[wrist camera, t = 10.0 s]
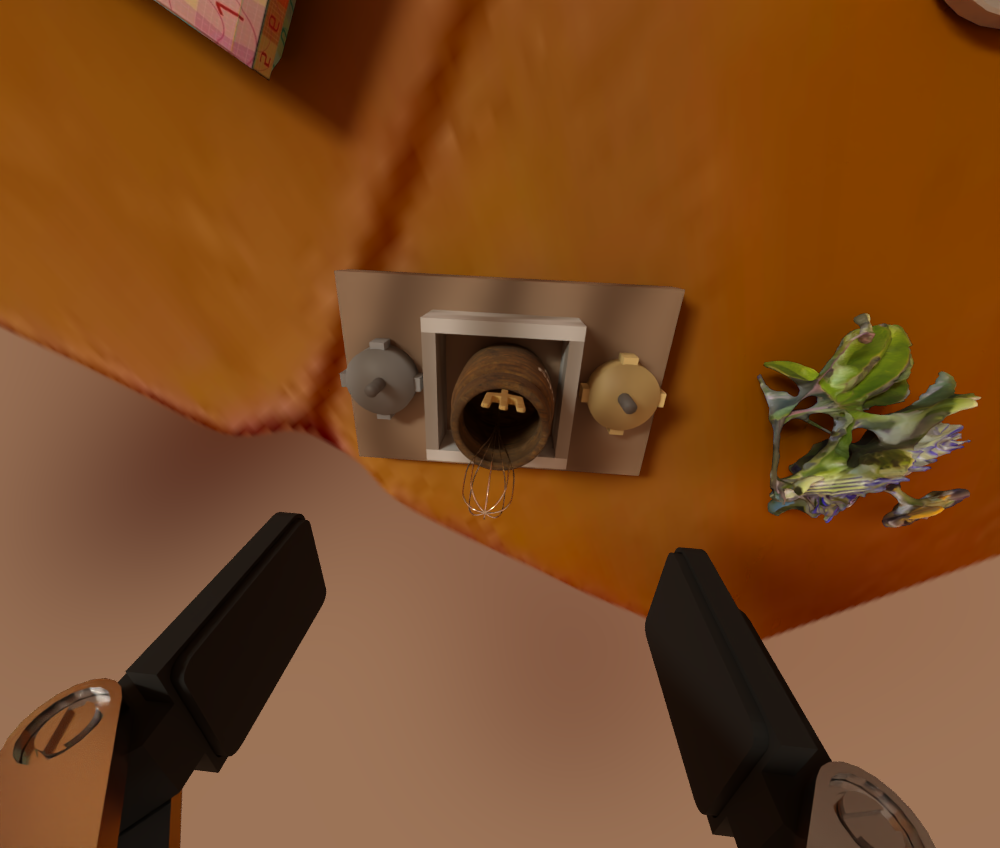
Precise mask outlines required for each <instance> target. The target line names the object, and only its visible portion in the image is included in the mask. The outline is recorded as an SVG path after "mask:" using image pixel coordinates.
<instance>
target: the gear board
mask: <svg viewBox="0 0 1000 848" xmlns="http://www.w3.org/2000/svg"><path fill="white" fill-rule="evenodd" d="M334 273H335V280H336V287H337V295H338V302H339V309H340V317H341V324H342V331H343V339H344V346H345V353H346V361H347V369H346V370H344V371H343V372H341V373H340V378H341V385H342V387H347V388H348V390H349V392H350V394H351V398H352V405H353V412H354V420H355V427H356V434H357V442H358V449H359V456H364V457H378V458H392V459H406V460H421V461H435V462H449V463H463V464H469V463H470V462H471V461H470V460H469V459H468V458H466V457H465V456H464V455H463V454H462V453H461V451H460V450H459V449H458V447H457V446H456V444H455V442H454V439H453V437H452V433H451V424H450V418H451V399H452V394H453V390H454V387H455V385H456V382H457V380H458V378H459V376H460V374H461V372H462V370H463V368H464V367H465V365H466V363H467V362H468V361H469V359H470V358H471V357H472V356H473V355H474V354H475V353H477V352H478V351H479V350H481V349H482V348H484V347H486V346H489V345H492V344H496V343H514V344H518V345H521V346H523V347H526V348H527V349H529V350H531V351H532V352H533V353H535V354H536V355H537V356H538V357H539V359H540V360H541V361H542V362H543V364H544V366H545V367H546V370H547V372H548V375H549V378H550V382H551V386H552V390H553V396H554V415H553V419H552V422H551V429H550V434H549V437H548V440H547V443H546V445H545V447H544V448H543V450H542V451H541V453H540V454H539V455H538V456H537V457H536V458H535V459H533V460H532V461H531V462H529V463H528V464H526V465H524V466H521V467H520V468H535V469H549V470H563V471H578V472H592V473H606V474H620V475H635V476H639V473H640V469H641V465H642V461H643V457H644V453H645V449H646V445H647V441H648V437H649V433H650V429H651V425H652V421H653V417H654V413H655V410H656V409H657V407H663V406H664V403H665V399H666V395H667V394H666V393H665V392H664V391H663V390H662V389H661V385H662V381H663V377H664V373H665V369H666V365H667V361H668V356H669V352H670V348H671V344H672V340H673V336H674V332H675V328H676V324H677V320H678V316H679V312H680V308H681V304H682V300H683V296H684V292H685V290H684V289H680V288H675V287H666V286H648V285H629V284H611V283H592V282H573V281H555V280H536V279H518V278H499V277H481V276H462V275H444V274H425V273H407V272H388V271H369V270H351V269H347V270H337V271H334ZM470 464H473V462H471V463H470ZM474 464H475V463H474Z"/></svg>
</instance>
